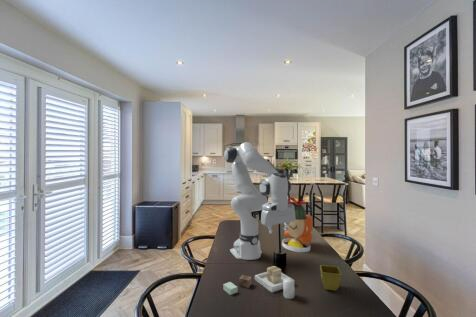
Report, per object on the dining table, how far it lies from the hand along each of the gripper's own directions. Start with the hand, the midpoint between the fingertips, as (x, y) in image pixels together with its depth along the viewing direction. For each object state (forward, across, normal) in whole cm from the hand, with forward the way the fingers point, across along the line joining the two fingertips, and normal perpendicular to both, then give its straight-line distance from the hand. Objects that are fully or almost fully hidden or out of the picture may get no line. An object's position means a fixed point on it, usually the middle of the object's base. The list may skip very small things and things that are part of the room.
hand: (278, 231), depth 129 cm
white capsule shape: (+24, +5, +14) cm, 29 cm away
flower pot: (+25, -17, +19) cm, 35 cm away
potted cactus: (+26, -43, -31) cm, 59 cm away
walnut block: (+25, +18, -3) cm, 31 cm away
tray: (+25, +4, +1) cm, 25 cm away
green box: (+25, +27, -2) cm, 37 cm away
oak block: (+24, +4, +1) cm, 24 cm away
